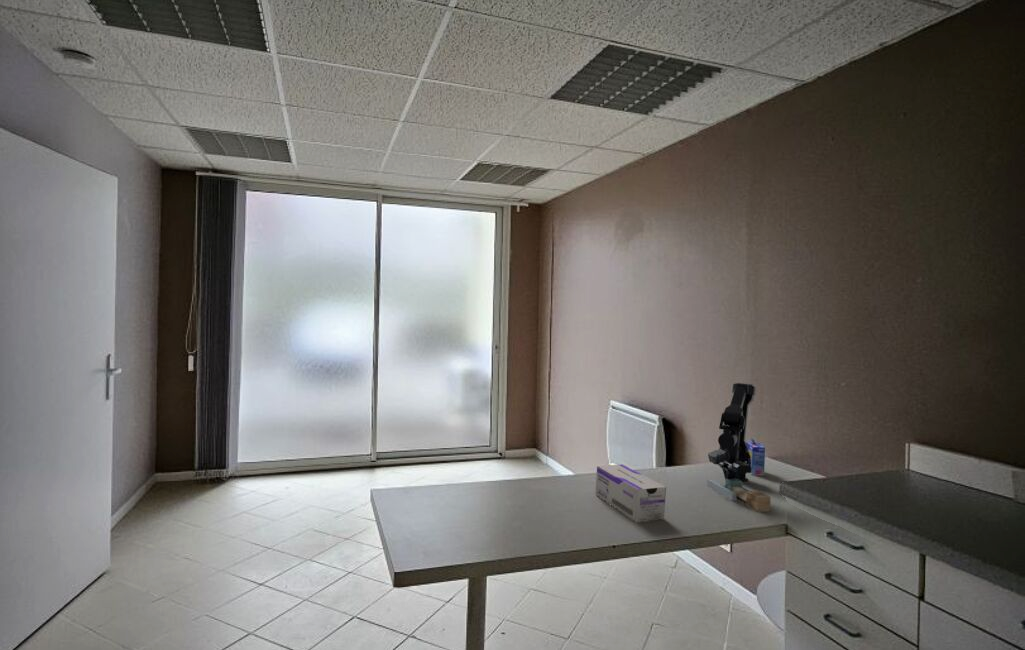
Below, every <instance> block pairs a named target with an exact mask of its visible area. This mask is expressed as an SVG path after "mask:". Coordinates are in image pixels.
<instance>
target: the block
mask: <svg viewBox="0 0 1025 650" xmlns="http://www.w3.org/2000/svg"><path fill="white" fill-rule="evenodd" d="M771 499H772V497H771V496H769V494H766V493H764V492H762V491H760V490H752V491H747V496H746V501H745V505H746V506H747V507H749V508H751V509H752V510H753V511H756V512H770V511H771Z"/></svg>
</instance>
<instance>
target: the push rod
mask: <svg viewBox="0 0 1025 650" xmlns="http://www.w3.org/2000/svg"><path fill="white" fill-rule="evenodd" d="M724 480H725V482H724V486H725V488H727V489H729V490H731V491H732V492H734V493H736V494H737V496H736V498H737V497H738V498H739V499H741V500H743V501H744V502H746V496H747V491H746V490H744V489H742V486H743V481H741V480H739V479H725V478H724Z"/></svg>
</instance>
